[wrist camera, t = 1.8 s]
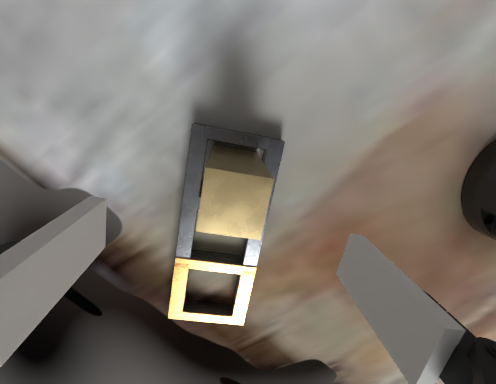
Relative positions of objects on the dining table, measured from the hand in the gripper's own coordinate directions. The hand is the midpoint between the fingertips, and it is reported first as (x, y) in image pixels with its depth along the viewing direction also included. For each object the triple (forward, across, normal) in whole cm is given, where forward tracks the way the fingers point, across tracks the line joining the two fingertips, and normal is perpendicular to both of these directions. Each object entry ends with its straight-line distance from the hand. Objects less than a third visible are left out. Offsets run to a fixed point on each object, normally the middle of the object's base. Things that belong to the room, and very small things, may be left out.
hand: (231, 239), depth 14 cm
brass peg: (+17, 0, 0) cm, 17 cm away
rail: (+17, 0, +8) cm, 19 cm away
